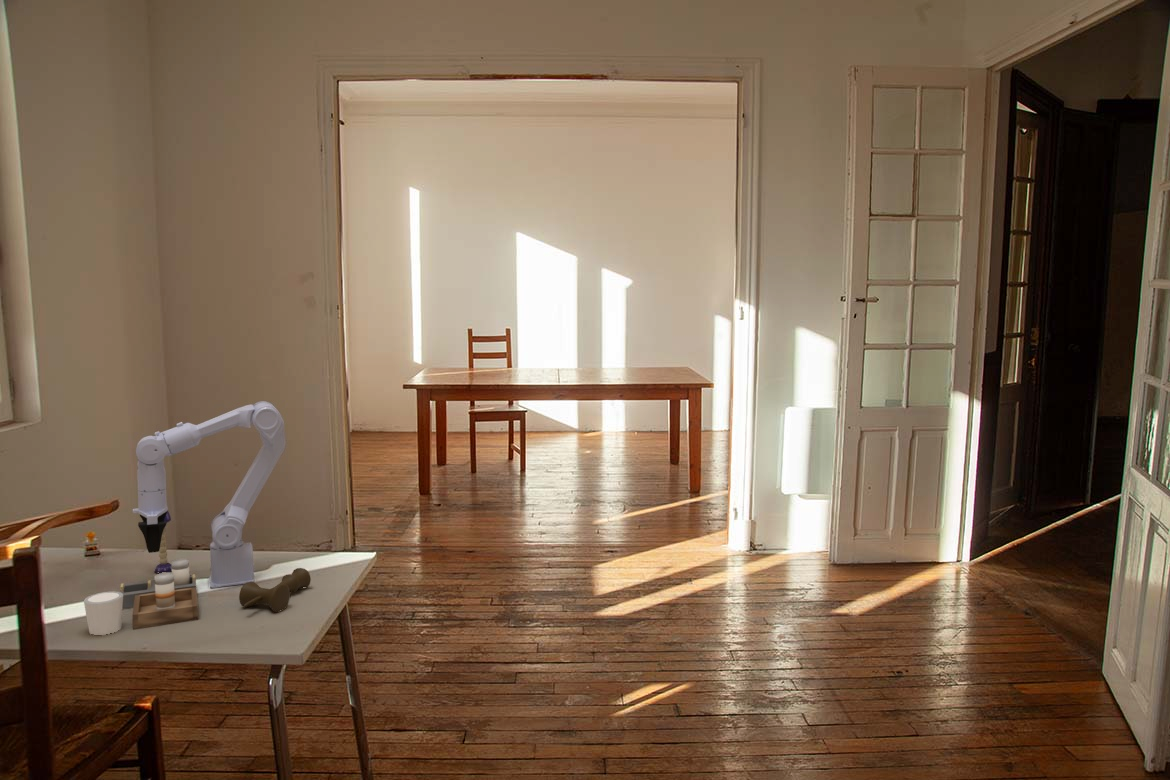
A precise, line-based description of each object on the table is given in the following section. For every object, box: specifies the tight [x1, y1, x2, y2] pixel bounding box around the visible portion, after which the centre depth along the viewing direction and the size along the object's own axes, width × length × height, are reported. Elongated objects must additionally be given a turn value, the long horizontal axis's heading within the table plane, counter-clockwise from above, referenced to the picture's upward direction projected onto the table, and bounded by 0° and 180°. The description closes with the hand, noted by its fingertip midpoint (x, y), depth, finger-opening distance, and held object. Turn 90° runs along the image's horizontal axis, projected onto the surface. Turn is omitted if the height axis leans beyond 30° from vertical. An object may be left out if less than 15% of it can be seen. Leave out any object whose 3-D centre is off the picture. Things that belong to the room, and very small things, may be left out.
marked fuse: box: [154, 572, 175, 610], centre depth 171 cm, size 4×4×8 cm
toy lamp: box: [154, 509, 172, 573], centre depth 197 cm, size 5×5×17 cm
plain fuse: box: [170, 557, 191, 586], centre depth 182 cm, size 4×4×8 cm
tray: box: [132, 586, 199, 630], centre depth 172 cm, size 12×12×3 cm
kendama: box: [238, 567, 312, 613], centre depth 179 cm, size 6×10×20 cm
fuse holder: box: [119, 573, 197, 610], centre depth 181 cm, size 15×8×4 cm, turn 117°
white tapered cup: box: [83, 590, 123, 636], centre depth 163 cm, size 7×7×7 cm
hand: (154, 547), depth 184 cm, fingers open, 7 cm apart
